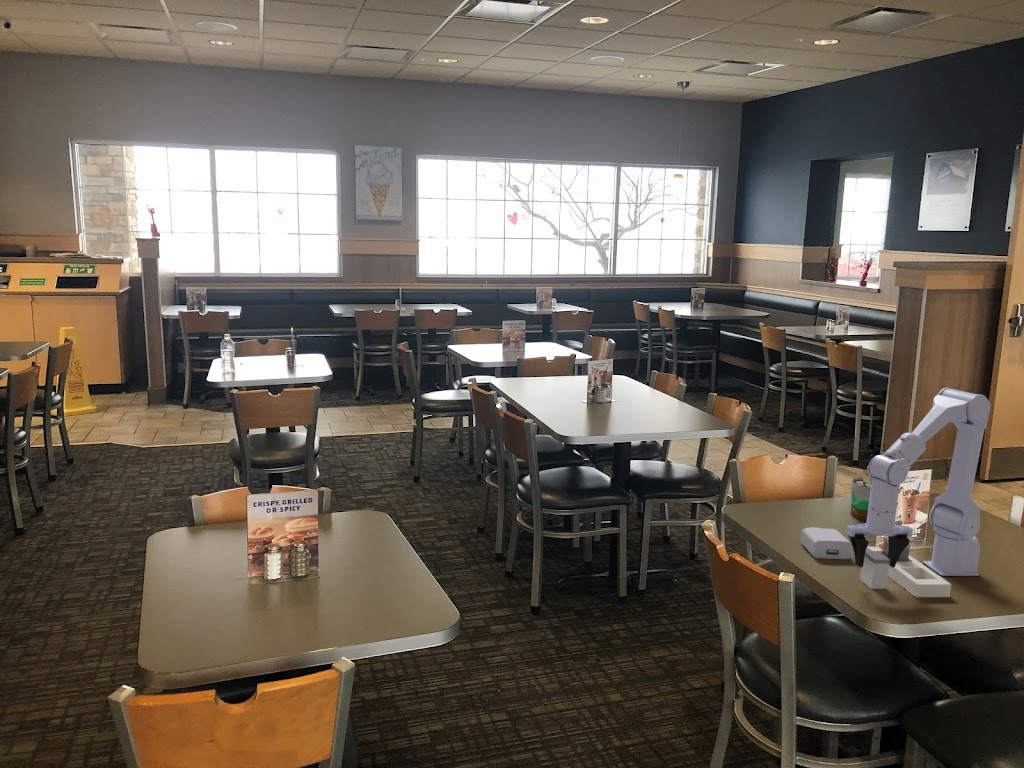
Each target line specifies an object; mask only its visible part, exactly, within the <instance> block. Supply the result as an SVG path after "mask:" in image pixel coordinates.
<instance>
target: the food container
mask: <svg viewBox="0 0 1024 768" xmlns="http://www.w3.org/2000/svg"><path fill="white" fill-rule="evenodd" d="M849 489H850V490H851V499H850V516H851V517H852V518H854V519H856V520H858V521H862V522H865V523H867V516H868V508H869V499H870V491H871V485H870V483H869V482H866V481H865V480H864V477H860V476H859V477H858V476H857V477H854V478H852V479H851V482H850V484H849Z"/></svg>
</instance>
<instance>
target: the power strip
mask: <svg viewBox="0 0 1024 768" xmlns="http://www.w3.org/2000/svg"><path fill="white" fill-rule="evenodd" d="M883 544H884V543H879V544H878V546H867V549H866V551H879V552H881V553H882V552H883ZM888 578H890V579H891V580H893V581H894V582H895V583H896V584H898V585H899V586H900V587H901V586H902V587H901V588H903V589H904V588H905V589H906V591H907V592H908V593H909V592H910V593H911V594H910V593H909V594H910V595H911V596H913V595H914V596H915V597H914V596H913V597H914V598H950V596H951V591H952V584H951V583H950V582H948V581H947V580H946V579H944V578H943V577H942V576H941V575H940V574H938V573H937V572H935V571H934V570H932V569H931V568H930V567H928V566H927V565H925V564H924V563H922V562H920V561H919V560H918V559H916V558H914V557H913V556H912V555H910V554H909V557H908V562H897V563H896V565H895V567H891V566H889V572H888ZM905 589H904V590H905Z"/></svg>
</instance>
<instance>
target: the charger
mask: <svg viewBox="0 0 1024 768" xmlns="http://www.w3.org/2000/svg"><path fill="white" fill-rule="evenodd" d="M800 537H801V539H800V543H801V545H802V546H803V547H804V548H805V549H806V550H807V551H808V552H809V553H810V554H811V555H812V557H813V558H815V559H832V560H833V559H834V560H835V559H837V560H839V559H840V560H849V559H851V557H852V551H853V547H852V544H851V541H850V540H849V539H847V537H845V536H844V535H843V534H841V532H840V531H838V530H837V529H835V528H823V527H822V528H821V527H813V526H812V527H806V528H803V529H802V530H801V536H800Z"/></svg>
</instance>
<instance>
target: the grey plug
mask: <svg viewBox="0 0 1024 768" xmlns="http://www.w3.org/2000/svg"><path fill="white" fill-rule="evenodd" d="M889 564H890V559H889V558H887V557H886V556H885V555H883V554H882V553H881V552H879V551H866V552H865V557H864V564H863V567H860V576H859V577H860V578H859V580H860V581H861V582H862V583H863V584H865V585H866V586H867V587H868V588H869V589H871V590H876V589H877V590H881V589H882V590H884V589H885V590H886V589H887V585H888V578H889V576H888V572H889Z"/></svg>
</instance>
